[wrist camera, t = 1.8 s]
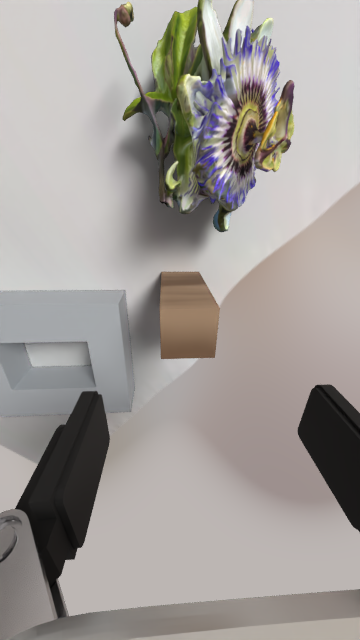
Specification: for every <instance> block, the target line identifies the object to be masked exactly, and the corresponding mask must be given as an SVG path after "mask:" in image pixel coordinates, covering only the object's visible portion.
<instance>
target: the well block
mask: <svg viewBox="0 0 360 640" xmlns="http://www.w3.org/2000/svg"><path fill="white" fill-rule="evenodd" d="M36 342H87V344H88V349H89V354H90V359H91V364H92V365H91V366H53V367H32V366H31V363H30V360H29V357H28V354H27V351H26V349H25V346H24V343H36ZM83 391H97V392H98V394H101V395H102V397H103V403H104V409H105V413H112V412H131V408H132V402H133V397H134V391H135V384H134V373H133V363H132V353H131V343H130V333H129V323H128V313H127V303H126V293H125V290H74V291H0V417H11V416H36V415H61V414H71V413H72V411H73V409H74V407H75V405H76V403H77V401H78V399H79V397H80V395H81V393H82V392H83Z"/></svg>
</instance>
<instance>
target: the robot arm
mask: <svg viewBox="0 0 360 640" xmlns="http://www.w3.org/2000/svg"><path fill="white" fill-rule="evenodd" d="M298 435H299V437H300V439H301V441H302V443H303V444H304V446H305V448H306V449H307V451H308V453H309V454H310V456H311V458H312V459H313V461H314V463H315V464H316V466H317V467H318V469H319V471H320V473H321V474H322V476H323V478H324V479H325V481H326V483H327V484H328V486H329V488H330V489H331V491H332V493H333V494H334V496H335V498H336V499H337V501H338V503H339V504H340V506H341V508H342V509H343V511H344V513H345V515H346V516H347V518H348V520H349V521H350V523H351V524H352V526H353V527H354V528H356V529H358V530H359V532H360V413H359V412H358V411H357V410H356V409H355V408H354V407H353V406H352V405H351V404H350V403H349V402H348V401H347V400H346V399H345V398H344V397H343V396H342V395H341V394H340V393H339V392H338V391H337V390H336V388H335V387H333V386H332V385H316V386H315V387H314V388H313V389H312V390H311V393H310V396H309V399H308V401H307V404H306V407H305V410H304V413H303V416H302V418H301V421H300V424H299V427H298ZM109 440H110V437H109V431H108V425H107V420H106V414H105V409H104V403H103V397H102V395H101V394H98V392H97V391H83V392H82V393H81V395H80V397H79V399H78V401H77V403H76V405H75V407H74V409H73V411H72V413H71V415H70V417H69V419H68V421H67V423H66V425H60V426H59V427H58V428H57V429H56V431H55V433H54V435H53V437H52V439H51V441H50V442H49V444H48V446H47V448H46V450H45V452H44V454H43V456H42V458H41V460H40V462H39V464H38V466H37V468H36V469H35V471H34V473H33V475H32V477H31V479H30V481H29V483H28V485H27V487H26V489H25V491H24V493H23V495H22V496H21V498H20V500H19V502H18V504H17V506H16V508H15V509H11V510H8V511H4V512H2V513H0V640H360V589H358V590H344V591H332V592H331V591H330V592H317V593H306V594H292V595H279V596H267V597H255V598H243V599H230V600H218V601H206V602H194V603H184V604H171V605H160V606H148V607H138V608H129V609H120V610H111V611H102V612H93V613H86V614H81V615H75V616H70V617H69V615H68V611H67V608H66V604H65V601H64V598H63V594H62V591H61V587H60V584H59V581H58V578H59V576H60V575H61V573H62V570H63V566H64V563H65V560H71V559H75V555H76V552H77V548H81V547H82V546H83V543H84V541H85V537H86V533H87V529H88V525H89V521H90V517H91V513H92V509H93V505H94V501H95V497H96V494H97V489H98V486H99V482H100V478H101V474H102V470H103V466H104V462H105V458H106V454H107V450H108V446H109Z"/></svg>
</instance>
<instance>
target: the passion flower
mask: <svg viewBox="0 0 360 640" xmlns="http://www.w3.org/2000/svg"><path fill="white" fill-rule="evenodd" d="M253 5H254V0H237V1H236V3H235V5H234V7H233V9H232V11H231V14H230V17H229V20H228V22H227V25H226V27H225V30H224V32H223V33H222V30H221V26H220V24H219V22H218V19H217V13H216V11H215V10H213V8H212V0H199V1H198V7H194V8H193V9H191V10H188V11H185V12H184V13H179V12H176V11H175V12H174V14H173V16H172V18H171V20H170V22H169V24H168V26H167V29H166V31H165V33H164V36H163V38H162V39H161V40H159V41H158V43H157V47H156V49H155V50H154V52H153V53H152V56H151V62H152V71H153V75H154V83H155V88H156V90H155V92H148V93H146V94H144V92H143V90H142V87H141V85H140V83H139V80H138V78H137V74H136V72H135V70H134V69H133V67H132V65H131V63H130V60H129V57H128V54H127V51H126V49H125V46H124V44H123V42H122V39H121V37H120V35H119V32H118V28H117V21H119V22H120V23H121V24H122V25H123V26H125V27H127V26H129V24H130V22H132V21H133V19H134V16H133V15H134V14H133V7H132V5H131V3H130V2H127V4H123V5H121V6H120V7H119V8H117V9H116V10H115V12H114V22H115V33H116V37H117V39H118V41H119V44H120V47H121V49H122V52H123V55H124V57H125V60H126V62H127V65H128V68H129V70H130V72H131V74H132V76H133V78H134V81H135V84H136V86H137V87H138V89H139V91H140V95H141V97H139V98H137V99H135V100H134V101H133V102H132V103H131V104H130V105H129V106H128V107H127V108H126V110H125V112H124V115H123V120H124V121H125V120H126V119H128V118H129V117H131V116H133V115H134V114H136V113H138V112H141V113H144V114H146V115H148V117H149V118H150V120H151V122H152V124H153V135H152V138H151V137H150V136H149V137H148V139H149V141H150V143H151V145H152V147H153V149H154V150H155V154H156V157H157V160H158V161H159V162H158V164H159V196H160V202H161V203H165V204H166V206H167V207H172V208H174V207H173V200H175V201H176V202H177V203H178V206H179V212H180V213H182V214H189V213H191V212H192V211H193V210H194V209H196V208H197V206H198V204H199V203H200V202H201V201H203V200H204V199H206V198H210V200H211V204H213V203H214V202H215V200H217V201H218V202H219V209H218V211H217V212H216V214H215V215H214V217H213V225H214V227H215V229H216V230H218V231H219V232H224V231H228V228H229V220H230V216H231V212H232V211H234V210H236V209H237V208H238V207H240V206H241V205H242V204H243V203H244V201H245V198H246V196H247V193H248V191H249V190H250V189H252V188H253V187H254V186H255V183H256V179H255V177H254V174H255V172H254V171H255V170H256V168H257V169H260V170H263V171H266V172H268V171H270V170H271V169H272V170H273V171H274V172H275V171H277V170H278V169H279V165H280V162H281V156H282V153H285V152H286V151H287V150H288V149H289V147H290V145H291V142H290V138H291V136H292V135H293V132H294V122H293V114H292V103H293V90H294V83H293V81H291V80H290V81H288V82H287V83H286V85H285V86H284V88H283V91H282V94H281V97H280V100H279V102H278V101H277V100H276V99H275V94H276V93H277V92H278V90H279V89H280V87H279V88H278V89H277V91H275V87H276V85H277V83H276V80H277V77H278V75H279V73H280V70H279V62H278V61H277V59H276V54H275V51H276V48H274V49H273V47H272V46H271V47H269V46H270V43H271V39H270V36H271V33H272V28H273V19H272V18H267V19H266V20H265V21H264V23H263V24H262V25H260V26H258V27H257V28H256V29H255V31H254V30H253V29H252V30H251V25H252V18H253ZM197 28H198V34H199V39H200V45H199V46H198V47H196V48H195V47H194V45H193V44H194V43H195V36H196V32H197ZM251 31H252V33H250V32H251ZM269 39H270V42H269ZM268 43H269V44H268ZM158 111H163V112H164V114H166V115H167V116H168V118H169V128H168V132H167V135H166V137H165V138H164V139H163V137H162V134H161V132H160V129H159V127H158V124H157V121H156V117H155V114H156V112H158ZM174 129H175V133H174ZM172 144H173V153H174V158H175V163H174V164H173V165H172V166H171V167H170V169H169V170H168V172H167V174H166V180H165V186H166V190H167V191H166V190H165V186H164V159H165V158H166V157H167V155H168V154H169V151H170V148H171V145H172ZM175 169H176V172H177V181H175V180H174V179H173V173H174V172H175Z"/></svg>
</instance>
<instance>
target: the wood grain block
mask: <svg viewBox="0 0 360 640" xmlns="http://www.w3.org/2000/svg"><path fill="white" fill-rule="evenodd" d="M219 311H220V308H219V306H218V304H217V303H216V301H215V299H214V297H213V296H212V294H211V292H210V290H209V289H208V287H207V285H206V283H205V282H204V280H203V278H202V276H201V275H200V273H199V272H162V274H161V293H160V338H161V359H177V358H214V357H215V350H216V340H217V330H218V321H219Z"/></svg>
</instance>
